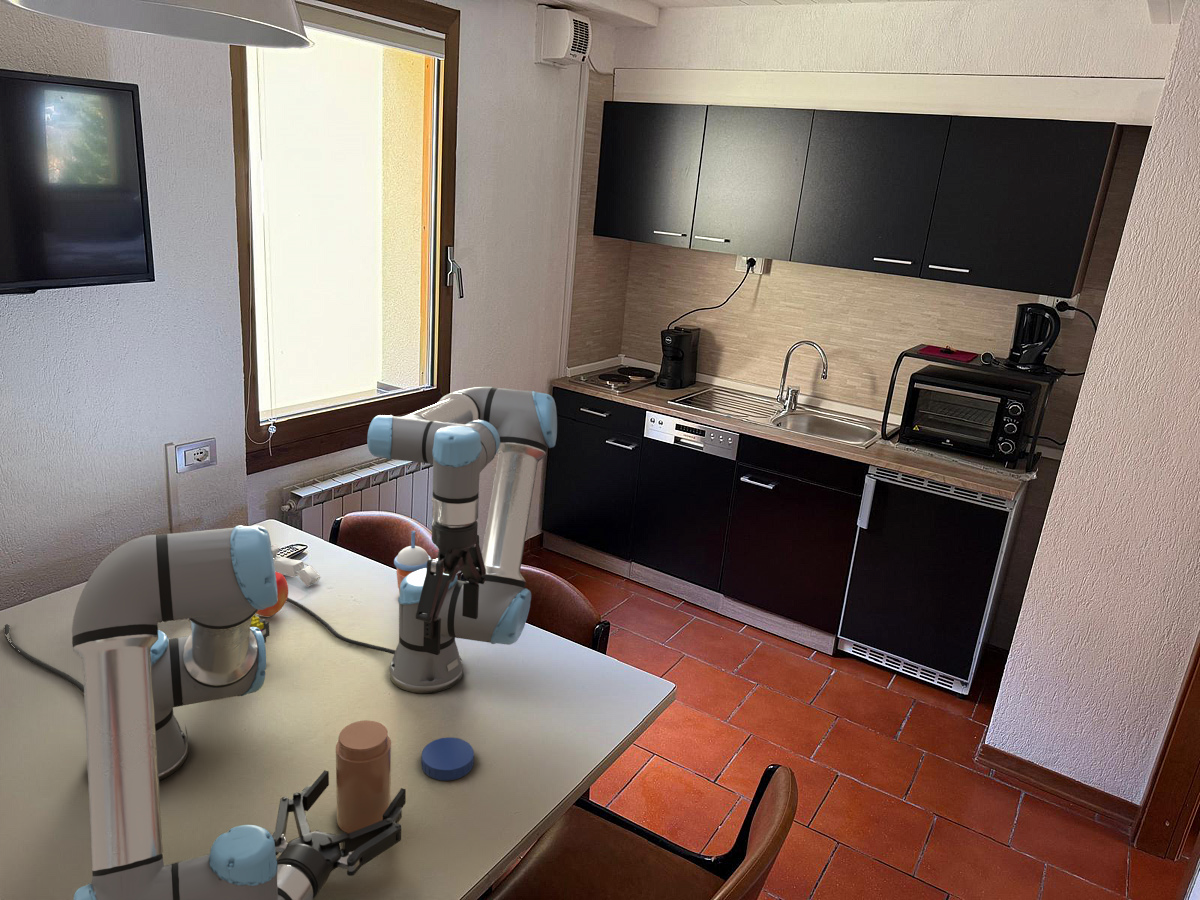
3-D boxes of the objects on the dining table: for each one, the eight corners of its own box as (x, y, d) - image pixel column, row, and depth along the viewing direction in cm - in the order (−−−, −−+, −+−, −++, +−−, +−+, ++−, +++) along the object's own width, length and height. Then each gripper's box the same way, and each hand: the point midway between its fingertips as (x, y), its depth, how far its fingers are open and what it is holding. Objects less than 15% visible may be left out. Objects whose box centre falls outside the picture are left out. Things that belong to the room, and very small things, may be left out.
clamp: (253, 565, 223) (254, 542, 221) (265, 560, 226) (266, 537, 224) (309, 593, 215) (310, 569, 213) (320, 588, 218) (321, 564, 216)
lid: (481, 772, 154) (482, 761, 153) (431, 786, 149) (431, 776, 148) (462, 742, 161) (463, 732, 161) (414, 755, 157) (414, 744, 156)
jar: (325, 819, 140) (323, 736, 135) (366, 791, 147) (366, 711, 142) (361, 843, 135) (360, 758, 131) (401, 813, 142) (402, 732, 138)
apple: (273, 600, 207) (272, 562, 204) (297, 613, 202) (296, 575, 199) (237, 614, 200) (234, 575, 197) (261, 628, 194) (259, 588, 191)
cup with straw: (422, 608, 209) (423, 541, 204) (387, 602, 210) (387, 535, 205) (436, 592, 217) (437, 527, 212) (403, 587, 219) (403, 522, 214)
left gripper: (213, 884, 123) (296, 789, 143) (373, 927, 118) (435, 822, 138) (210, 841, 120) (294, 751, 140) (373, 883, 116) (436, 783, 135)
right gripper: (469, 493, 154) (466, 599, 160) (393, 542, 131) (393, 663, 137) (507, 500, 152) (502, 608, 158) (437, 551, 129) (434, 674, 135)
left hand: (364, 786), depth 139 cm, fingers open, 13 cm apart
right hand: (451, 634), depth 148 cm, fingers open, 13 cm apart
